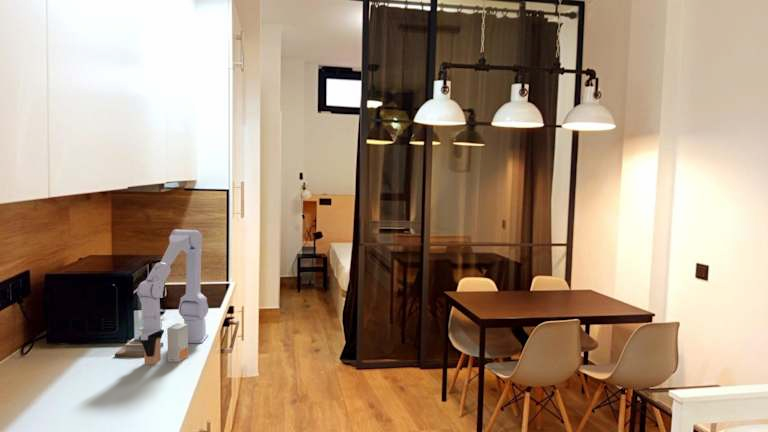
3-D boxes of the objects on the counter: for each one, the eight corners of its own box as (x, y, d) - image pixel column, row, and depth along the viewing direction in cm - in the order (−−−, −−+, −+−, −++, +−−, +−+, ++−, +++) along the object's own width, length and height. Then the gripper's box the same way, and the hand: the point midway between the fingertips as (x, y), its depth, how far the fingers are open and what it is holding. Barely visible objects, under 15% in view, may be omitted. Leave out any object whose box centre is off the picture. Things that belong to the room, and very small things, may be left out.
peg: (149, 359, 180) (148, 337, 179) (160, 359, 180) (160, 337, 179) (144, 364, 176) (143, 341, 175) (156, 363, 176) (155, 341, 176)
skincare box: (178, 362, 177) (177, 329, 176) (167, 361, 178) (166, 328, 177) (188, 356, 183) (187, 323, 182) (178, 355, 184) (177, 323, 183)
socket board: (127, 346, 193) (127, 336, 193) (163, 345, 194) (162, 336, 194) (114, 357, 182) (114, 347, 182) (152, 356, 183) (152, 346, 183)
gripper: (147, 309, 183) (148, 346, 185) (130, 321, 169) (132, 361, 170) (167, 309, 184) (168, 346, 185) (152, 321, 170) (154, 361, 171)
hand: (152, 353), depth 178 cm, fingers closed on peg, 4 cm apart
